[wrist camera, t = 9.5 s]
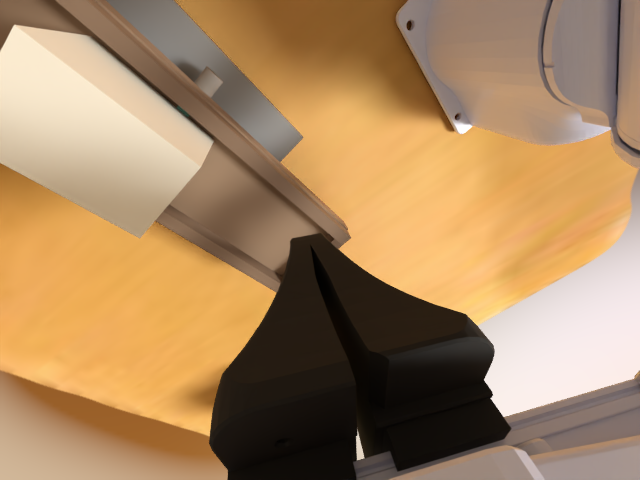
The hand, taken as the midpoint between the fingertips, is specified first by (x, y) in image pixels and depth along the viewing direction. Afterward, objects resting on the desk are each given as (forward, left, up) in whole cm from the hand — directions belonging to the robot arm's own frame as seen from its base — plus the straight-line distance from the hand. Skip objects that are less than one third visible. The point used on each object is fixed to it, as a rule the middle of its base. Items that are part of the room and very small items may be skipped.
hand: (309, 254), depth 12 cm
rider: (+8, +3, -7) cm, 11 cm away
